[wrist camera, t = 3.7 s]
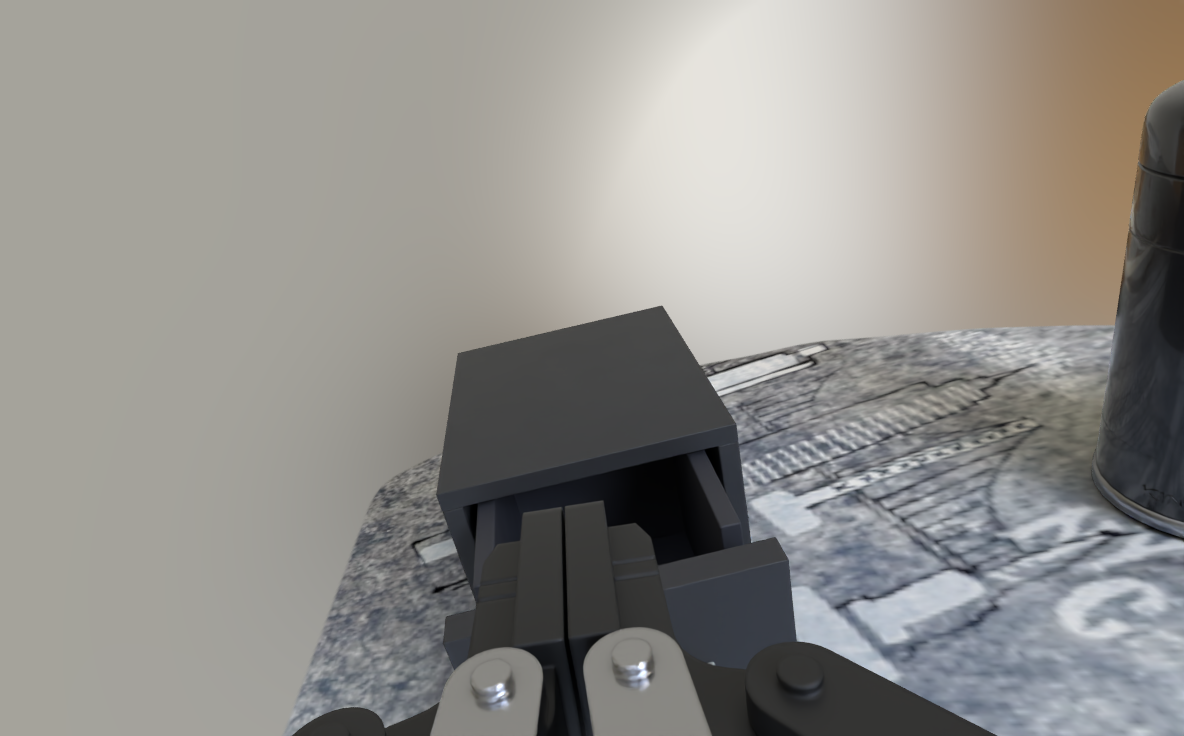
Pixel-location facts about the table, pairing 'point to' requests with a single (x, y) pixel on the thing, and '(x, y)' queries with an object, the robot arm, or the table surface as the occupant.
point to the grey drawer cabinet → (578, 415)
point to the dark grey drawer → (667, 556)
